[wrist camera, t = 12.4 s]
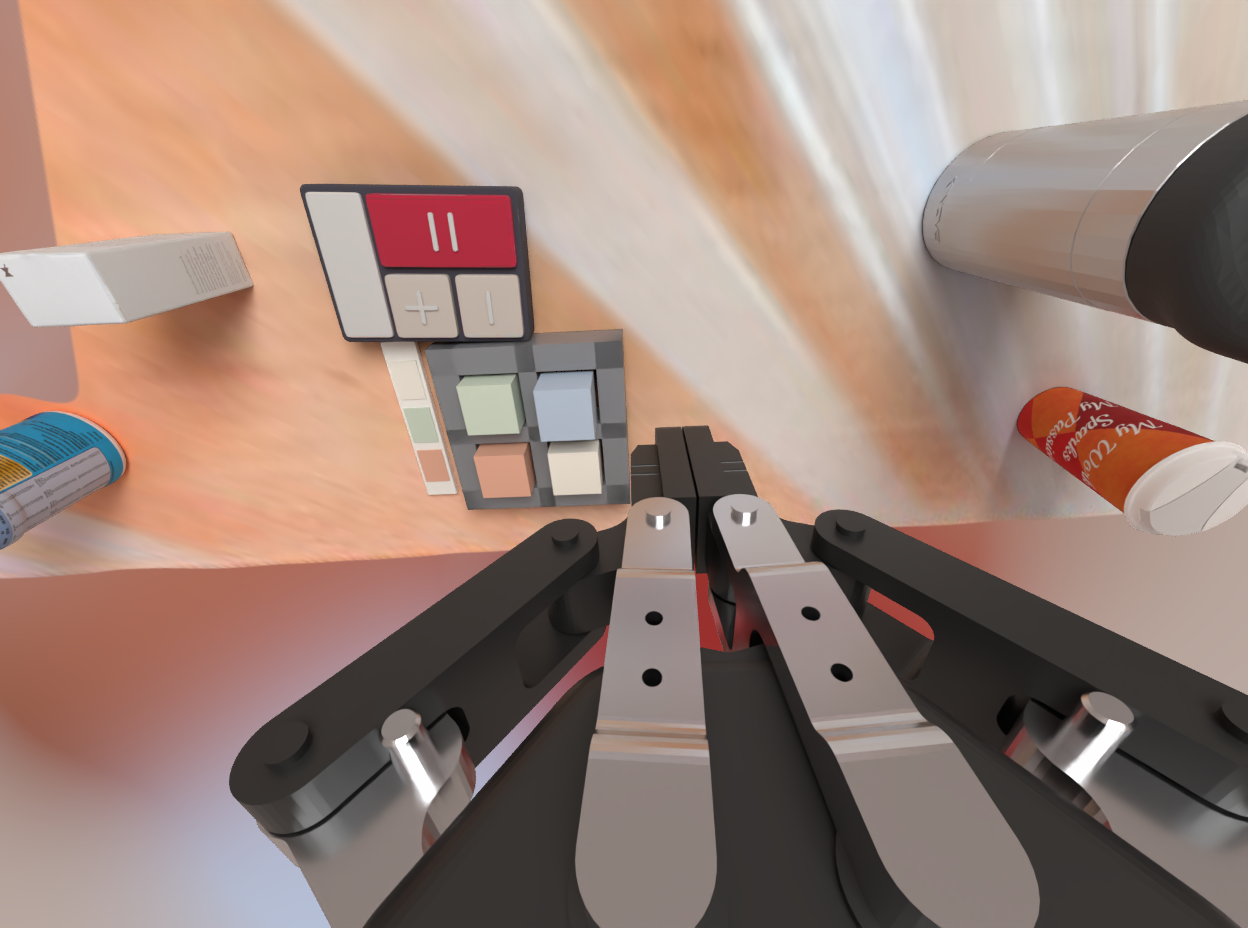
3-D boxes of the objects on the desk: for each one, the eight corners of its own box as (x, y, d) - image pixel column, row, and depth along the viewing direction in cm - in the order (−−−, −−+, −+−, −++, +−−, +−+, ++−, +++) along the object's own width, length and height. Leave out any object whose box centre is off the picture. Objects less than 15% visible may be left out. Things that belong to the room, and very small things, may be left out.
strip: (416, 338, 41) (413, 341, 40) (458, 490, 49) (456, 494, 49) (382, 340, 41) (379, 343, 40) (430, 491, 49) (427, 495, 49)
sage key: (520, 367, 41) (510, 384, 38) (527, 413, 43) (519, 433, 40) (470, 369, 41) (456, 386, 38) (480, 415, 43) (468, 435, 40)
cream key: (599, 430, 44) (597, 451, 41) (603, 470, 46) (601, 493, 43) (553, 432, 44) (547, 453, 41) (559, 472, 46) (553, 495, 43)
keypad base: (622, 329, 40) (622, 340, 37) (630, 483, 49) (630, 503, 46) (439, 337, 41) (424, 350, 38) (477, 489, 49) (467, 509, 46)
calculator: (530, 344, 38) (339, 345, 37) (536, 330, 42) (362, 330, 41) (515, 186, 32) (290, 183, 32) (524, 186, 36) (322, 183, 35)
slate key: (593, 370, 39) (590, 388, 36) (597, 418, 42) (594, 439, 38) (541, 373, 39) (533, 391, 36) (547, 420, 42) (541, 441, 38)
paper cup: (1049, 363, 42) (1219, 435, 30) (1113, 392, 43) (1299, 472, 31) (985, 435, 46) (1114, 525, 34) (1046, 460, 47) (1190, 555, 35)
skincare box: (185, 290, 39) (28, 329, 29) (158, 233, 37) (-23, 253, 27) (257, 287, 39) (125, 325, 29) (234, 230, 37) (81, 249, 26)
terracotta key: (531, 433, 44) (523, 454, 41) (537, 473, 47) (530, 496, 43) (485, 435, 44) (473, 456, 41) (494, 474, 47) (483, 498, 43)
